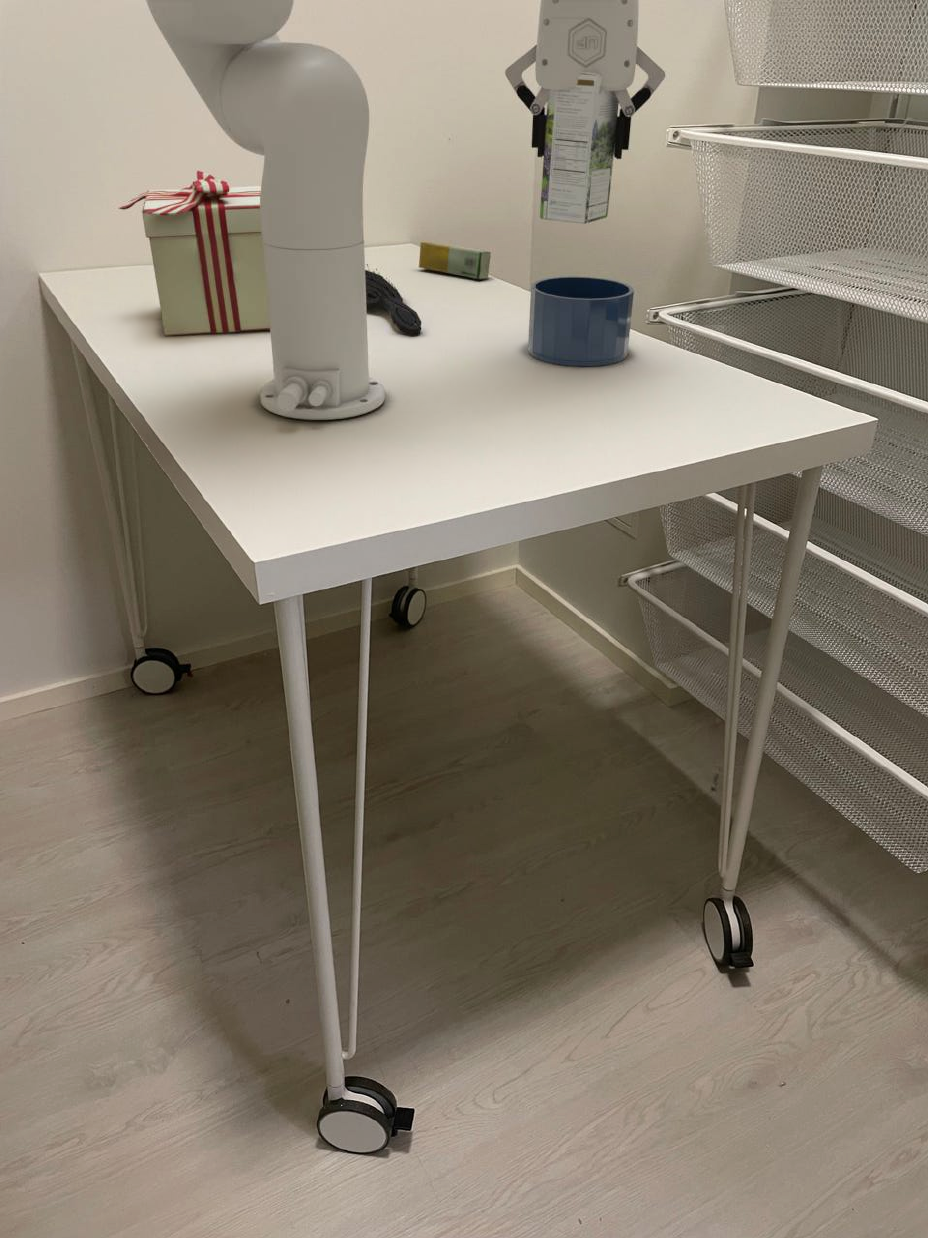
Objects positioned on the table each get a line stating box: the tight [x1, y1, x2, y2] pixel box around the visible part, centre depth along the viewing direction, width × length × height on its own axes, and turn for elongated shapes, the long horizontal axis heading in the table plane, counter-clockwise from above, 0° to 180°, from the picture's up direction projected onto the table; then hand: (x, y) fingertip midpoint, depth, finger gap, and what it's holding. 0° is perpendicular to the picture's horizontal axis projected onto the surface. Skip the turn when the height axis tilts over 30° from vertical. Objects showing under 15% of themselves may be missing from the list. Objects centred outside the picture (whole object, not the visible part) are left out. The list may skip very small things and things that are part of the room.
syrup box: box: [539, 71, 620, 225], centre depth 105 cm, size 6×6×14 cm
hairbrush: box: [365, 263, 422, 337], centre depth 131 cm, size 8×4×25 cm
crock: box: [527, 275, 635, 367], centre depth 115 cm, size 12×12×8 cm
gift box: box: [118, 170, 270, 337], centre depth 122 cm, size 17×18×17 cm
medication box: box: [418, 241, 492, 281], centre depth 152 cm, size 12×3×4 cm, turn 54°
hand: (579, 155), depth 105 cm, fingers closed on syrup box, 7 cm apart
